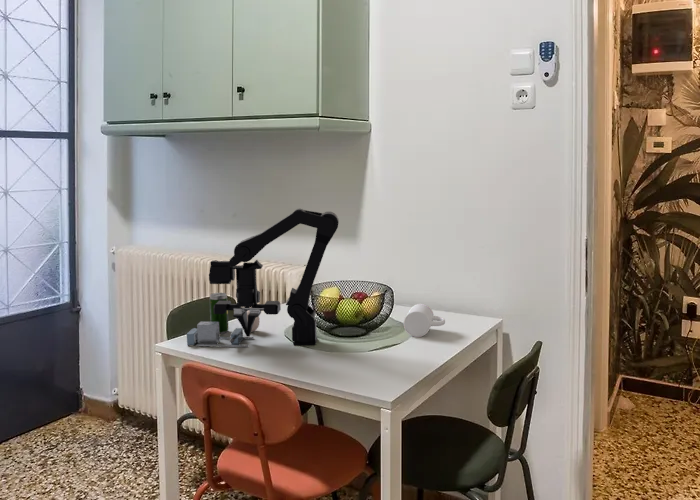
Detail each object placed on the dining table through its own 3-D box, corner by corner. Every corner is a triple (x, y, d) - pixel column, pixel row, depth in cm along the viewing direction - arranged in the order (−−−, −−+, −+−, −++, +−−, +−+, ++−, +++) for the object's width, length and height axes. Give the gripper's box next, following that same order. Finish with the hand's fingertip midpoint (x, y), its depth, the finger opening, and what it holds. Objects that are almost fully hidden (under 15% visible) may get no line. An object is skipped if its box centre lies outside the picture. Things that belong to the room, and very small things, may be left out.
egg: (254, 334, 199) (253, 310, 198) (241, 332, 201) (240, 309, 200) (262, 330, 203) (262, 307, 202) (250, 328, 205) (249, 305, 204)
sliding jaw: (243, 339, 193) (242, 328, 193) (235, 349, 184) (235, 337, 183) (235, 338, 194) (234, 328, 193) (227, 348, 184) (227, 337, 183)
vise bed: (253, 338, 194) (253, 327, 194) (247, 347, 186) (247, 335, 185) (194, 338, 195) (193, 327, 195) (186, 346, 187) (185, 335, 186)
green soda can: (214, 335, 198) (213, 297, 196) (208, 331, 202) (206, 294, 201) (231, 332, 201) (229, 294, 199) (224, 328, 205) (222, 291, 203)
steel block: (201, 341, 193) (200, 321, 192) (219, 341, 192) (218, 321, 191) (198, 344, 189) (197, 324, 188) (216, 344, 189) (215, 324, 188)
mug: (403, 336, 195) (403, 310, 194) (408, 327, 205) (408, 303, 203) (443, 338, 192) (443, 312, 191) (446, 329, 202) (447, 304, 201)
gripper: (282, 278, 195) (284, 328, 197) (221, 278, 196) (223, 328, 198) (276, 286, 184) (278, 339, 186) (211, 285, 185) (213, 338, 187)
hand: (248, 336), depth 190 cm, fingers closed
